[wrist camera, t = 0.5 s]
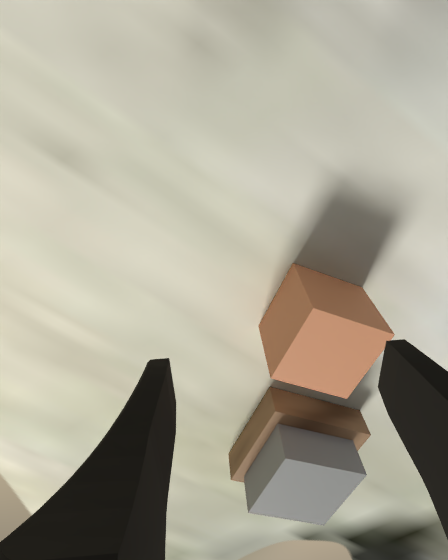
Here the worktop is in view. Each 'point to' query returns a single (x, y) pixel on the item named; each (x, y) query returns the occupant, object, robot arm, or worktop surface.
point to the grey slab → (302, 475)
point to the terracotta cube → (322, 332)
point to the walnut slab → (293, 425)
